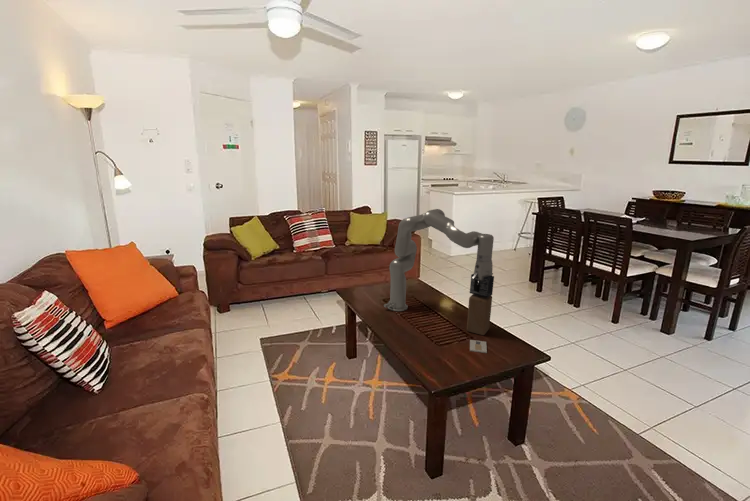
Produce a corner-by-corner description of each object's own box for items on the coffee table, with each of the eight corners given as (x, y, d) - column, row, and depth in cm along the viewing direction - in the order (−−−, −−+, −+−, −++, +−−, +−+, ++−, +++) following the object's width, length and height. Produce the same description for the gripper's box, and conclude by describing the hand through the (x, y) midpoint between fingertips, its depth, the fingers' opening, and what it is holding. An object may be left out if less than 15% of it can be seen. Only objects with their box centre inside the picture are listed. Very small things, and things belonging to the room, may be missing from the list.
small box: (492, 294, 204) (494, 275, 202) (487, 298, 199) (489, 278, 197) (474, 290, 211) (476, 271, 208) (469, 293, 206) (470, 274, 203)
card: (469, 351, 188) (469, 349, 188) (469, 340, 198) (470, 339, 198) (486, 353, 186) (486, 351, 186) (486, 342, 196) (486, 341, 196)
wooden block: (484, 336, 204) (487, 300, 199) (465, 331, 209) (468, 296, 204) (489, 329, 212) (492, 295, 207) (471, 325, 217) (474, 291, 212)
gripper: (479, 261, 192) (476, 295, 197) (500, 257, 203) (497, 288, 207) (467, 258, 198) (464, 291, 202) (488, 253, 208) (485, 285, 213)
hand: (481, 289), depth 205 cm, fingers closed on small box, 7 cm apart
